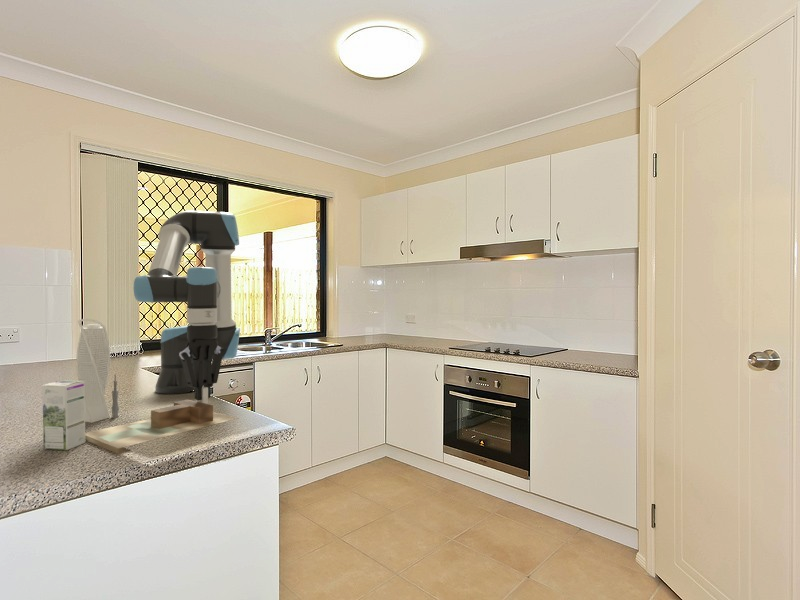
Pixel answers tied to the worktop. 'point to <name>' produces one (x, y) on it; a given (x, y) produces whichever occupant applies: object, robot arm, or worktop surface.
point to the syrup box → (63, 415)
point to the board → (143, 433)
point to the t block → (182, 414)
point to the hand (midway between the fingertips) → (202, 411)
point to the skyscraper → (95, 371)
